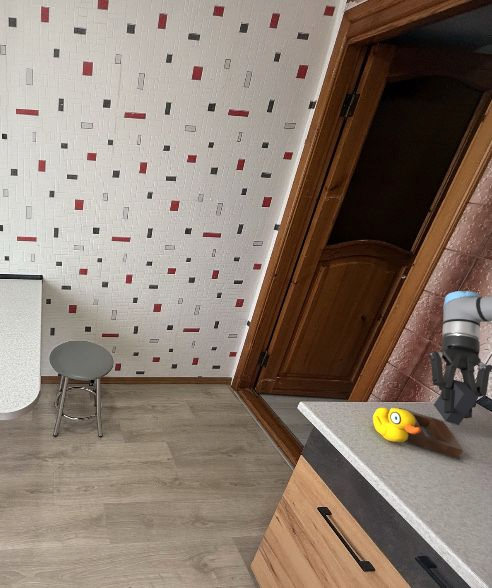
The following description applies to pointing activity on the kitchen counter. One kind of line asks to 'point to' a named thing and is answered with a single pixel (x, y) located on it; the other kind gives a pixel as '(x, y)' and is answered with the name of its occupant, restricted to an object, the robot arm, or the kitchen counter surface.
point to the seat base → (434, 436)
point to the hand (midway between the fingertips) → (457, 414)
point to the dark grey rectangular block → (457, 403)
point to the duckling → (394, 424)
